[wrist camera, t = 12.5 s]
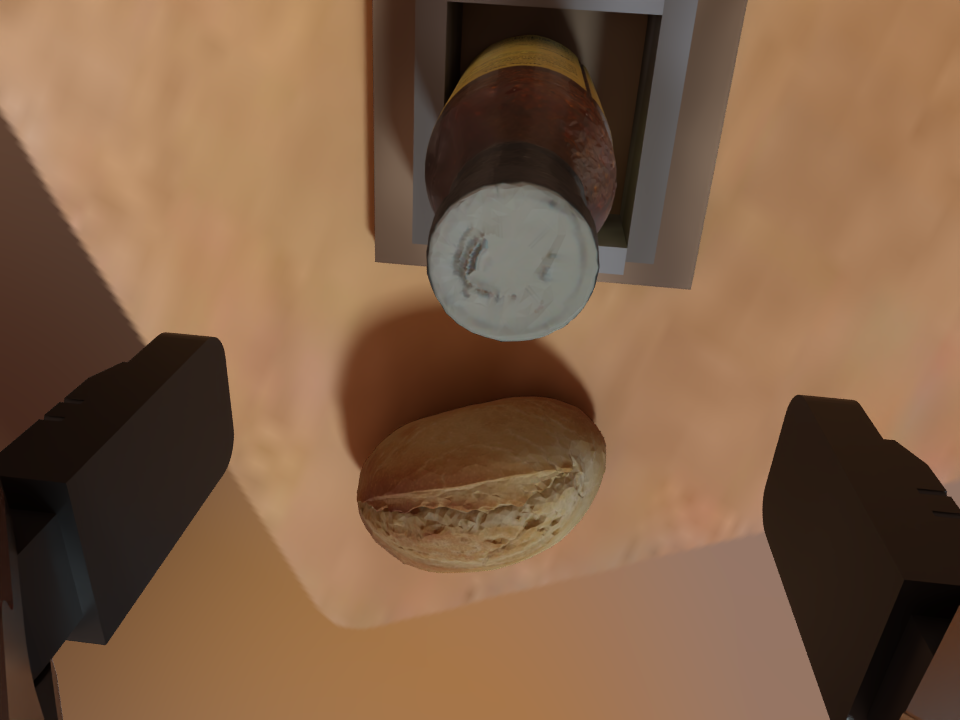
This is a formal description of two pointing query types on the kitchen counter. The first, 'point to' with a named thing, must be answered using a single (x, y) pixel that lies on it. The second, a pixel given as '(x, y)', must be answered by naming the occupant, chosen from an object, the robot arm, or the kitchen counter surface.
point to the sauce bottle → (518, 191)
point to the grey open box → (622, 93)
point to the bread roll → (482, 484)
